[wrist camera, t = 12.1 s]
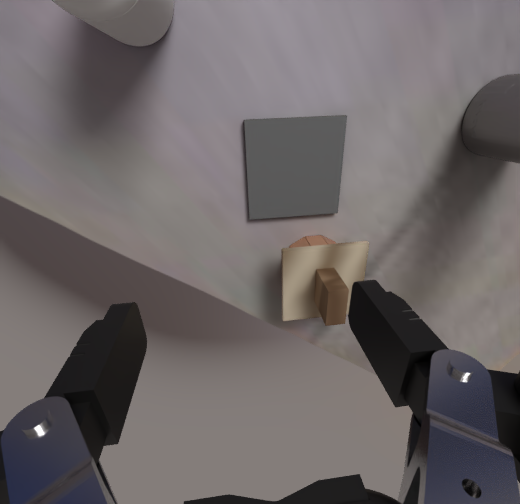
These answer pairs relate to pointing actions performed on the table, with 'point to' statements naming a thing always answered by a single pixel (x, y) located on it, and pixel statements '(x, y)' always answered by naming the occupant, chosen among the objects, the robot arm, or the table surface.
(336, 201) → the mat
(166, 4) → the pill bottle
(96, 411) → the robot arm
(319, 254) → the lid
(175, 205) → the table surface
